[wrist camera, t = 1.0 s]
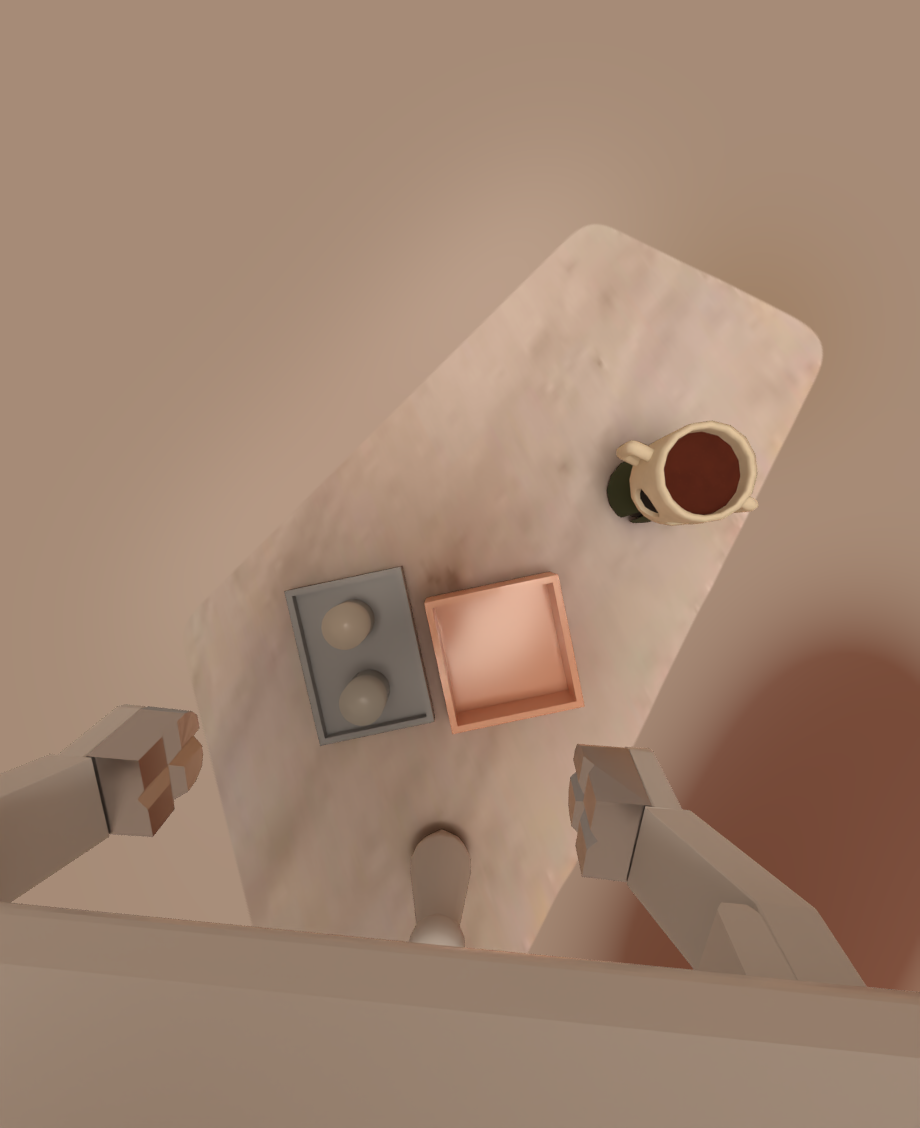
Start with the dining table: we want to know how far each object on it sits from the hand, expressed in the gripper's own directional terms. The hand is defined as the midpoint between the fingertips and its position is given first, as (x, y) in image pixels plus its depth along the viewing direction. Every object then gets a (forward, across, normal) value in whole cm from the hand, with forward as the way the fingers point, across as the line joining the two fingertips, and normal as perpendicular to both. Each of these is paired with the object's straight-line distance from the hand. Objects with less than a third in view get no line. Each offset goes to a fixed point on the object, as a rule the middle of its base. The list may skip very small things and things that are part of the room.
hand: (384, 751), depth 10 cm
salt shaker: (+28, 0, -35) cm, 45 cm away
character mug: (+39, +17, 0) cm, 42 cm away
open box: (+34, +5, -15) cm, 37 cm away
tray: (+33, -9, -17) cm, 38 cm away
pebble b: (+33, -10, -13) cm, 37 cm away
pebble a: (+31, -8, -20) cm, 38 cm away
